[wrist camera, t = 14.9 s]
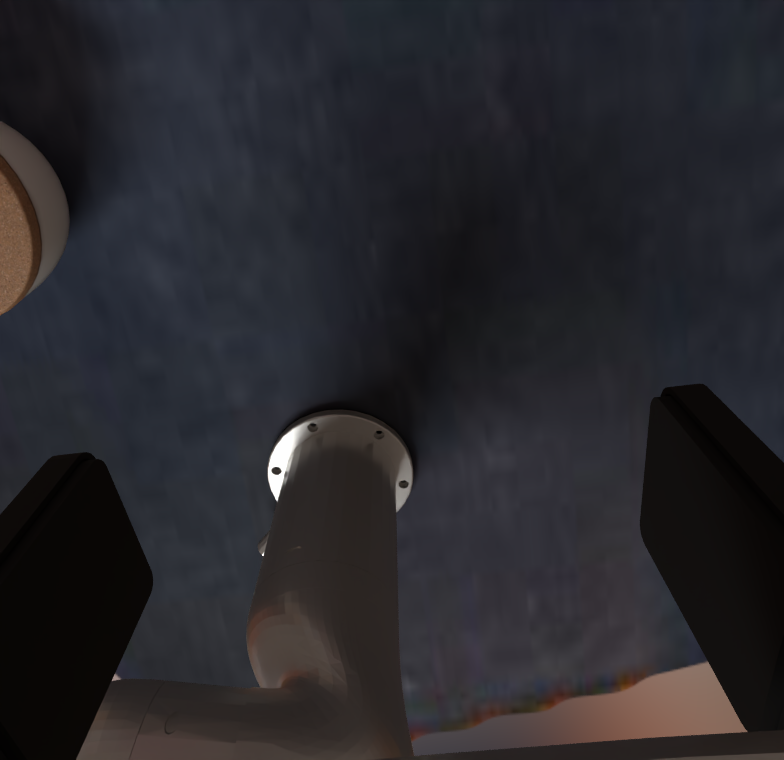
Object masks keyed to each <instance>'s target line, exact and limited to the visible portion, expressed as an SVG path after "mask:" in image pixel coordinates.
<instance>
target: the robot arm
mask: <svg viewBox="0 0 784 760" xmlns="http://www.w3.org/2000/svg"><path fill="white" fill-rule="evenodd" d="M312 423H314V424H312ZM267 473H268V482H269V486H270V489H271V491H272V493H273V495H274V497H275V499H276V500H277V504H276V508H275V512H274V516H273V520H272V524H271V528H270V531H268V533H267V534H266V535H265V536H264V537H263V538H262V539H261V541H260V542H259V543H258V550H259V552H260V553H261V554H262V555H263V560H262V564H261V567H260V571H259V575H258V579H257V583H256V587H255V591H254V595H253V599H252V603H251V607H250V611H249V615H248V620H247V631H246V638H247V649H248V654H249V659H250V663H251V665H252V668H253V671H254V674H255V677H256V679H257V681H258V683H259V685H260V687H261V688H259V687H251V688H240V687H230V686H219V685H209V684H198V683H188V682H177V681H166V680H154V679H121V680H116V681H112V679H113V677H114V674H115V672H116V670H117V668H118V665H119V663H120V661H121V659H122V657H123V654H124V652H125V650H126V648H127V645H128V643H129V641H130V639H131V637H132V634H133V632H134V630H135V628H136V625H137V623H138V621H139V619H140V617H141V614H142V612H143V610H144V608H145V605H146V603H147V601H148V599H149V597H150V594H151V591H152V587H153V575H152V571H151V569H150V566H149V564H148V562H147V559H146V557H145V555H144V552H143V550H142V548H141V545H140V543H139V541H138V538H137V536H136V534H135V531H134V529H133V527H132V524H131V522H130V520H129V517H128V515H127V513H126V510H125V508H124V506H123V503H122V501H121V499H120V496H119V494H118V492H117V489H116V487H115V485H114V482H113V480H112V478H111V475H110V473H109V471H108V468H107V466H106V465H105V463H104V462H103V461H102V460H99V459H96V458H95V457H94V456H93V455H92V454H91V453H87V452H84V453H75V454H66V455H57V456H53V457H51V458H50V459H48V460H47V462H46V463H45V464H44V465H43V466H42V467H41V468H40V470H39V471H38V472H37V473H36V474H35V475H34V476H33V478H32V479H31V480H30V481H29V482H28V483H27V485H26V486H25V487H24V488H23V489H22V490H21V491H20V493H19V494H18V495H17V496H16V497H15V498H14V500H13V501H12V502H11V503H10V504H9V505H8V506H7V508H6V509H5V510H4V511H3V512H2V513H1V515H0V760H784V463H783V462H782V461H781V460H780V459H779V458H778V457H777V456H776V455H775V454H774V453H773V452H772V451H771V450H770V449H769V448H768V447H767V446H766V445H765V444H764V443H763V442H762V441H761V440H760V439H759V438H758V437H757V436H756V435H755V434H754V433H753V432H752V431H751V430H750V429H749V428H748V427H747V426H746V425H745V424H744V423H743V422H742V421H741V420H740V419H739V418H738V417H737V416H736V415H735V414H734V413H733V412H732V411H731V410H730V409H729V408H728V407H727V406H726V405H725V404H724V403H723V402H722V401H721V400H720V399H719V398H718V397H717V396H716V395H715V394H714V393H713V392H712V391H711V390H710V389H709V388H708V387H707V386H705V385H704V384H693V385H684V386H675V387H666V388H665V389H664V390H663V391H662V394H661V397H655V398H653V399H652V402H651V406H650V416H649V427H648V438H647V449H646V460H645V472H644V483H643V494H642V505H641V516H640V530H641V535H642V538H643V542H644V544H645V546H646V548H647V550H648V551H649V553H650V555H651V557H652V559H653V561H654V562H655V564H656V566H657V568H658V570H659V572H660V574H661V575H662V577H663V579H664V581H665V583H666V585H667V586H668V588H669V590H670V592H671V594H672V596H673V598H674V599H675V601H676V603H677V605H678V607H679V609H680V610H681V612H682V614H683V616H684V618H685V620H686V621H687V623H688V625H689V627H690V629H691V631H692V633H693V634H694V636H695V638H696V640H697V642H698V644H699V645H700V647H701V649H702V651H703V653H704V655H705V657H706V658H707V660H708V662H709V664H710V666H711V668H712V669H713V671H714V673H715V675H716V677H717V679H718V681H719V682H720V684H721V686H722V688H723V690H724V692H725V693H726V695H727V697H728V699H729V701H730V702H731V704H732V706H733V708H734V710H735V712H736V714H737V715H738V717H739V719H740V721H741V723H742V724H743V726H744V727H745V729H746V730H747V731H748V732H742V733H725V734H709V735H691V736H675V737H658V738H642V739H629V740H616V741H603V742H591V743H577V744H564V745H550V746H538V747H524V748H511V749H498V750H485V751H472V752H459V753H446V754H434V755H421V756H414V752H413V747H412V742H411V737H410V733H409V727H408V722H407V717H406V711H405V704H404V697H403V690H402V680H401V669H400V650H399V619H398V568H397V521H396V513H397V512H398V511H399V510H400V509H401V507H402V506H403V505H404V504H405V502H406V500H407V498H408V496H409V494H410V492H411V488H412V484H413V464H412V458H411V455H410V452H409V450H408V448H407V446H406V444H405V443H404V441H403V439H402V438H401V437H400V436H399V435H398V434H397V433H396V432H395V431H394V429H392V428H391V427H390V426H388V425H387V424H385V423H384V422H383V421H381V420H379V419H377V418H375V417H373V416H371V415H368V414H364V413H361V412H357V411H351V410H342V409H340V410H325V411H321V412H316V413H312V414H310V415H308V416H305V417H303V418H300V419H299V420H297V421H296V422H294V423H293V424H291V425H290V426H288V427H287V428H286V429H285V430H284V431H283V432H282V433H281V434H280V436H279V437H278V439H277V441H276V442H275V444H274V446H273V448H272V451H271V454H270V457H269V462H268V466H267Z"/></svg>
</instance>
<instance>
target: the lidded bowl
mask: <svg viewBox="0 0 784 760" xmlns="http://www.w3.org/2000/svg"><path fill="white" fill-rule="evenodd" d="M69 224H70V217H69V207H68V203H67V199H66V195H65V192H64V190H63V187H62V185H61V182H60V180H59V178H58V176H57V175H56V173H55V171H54V169H53V167H52V166H51V165H50V163H49V162H48V161H47V159H46V158H45V157H44V155H43V154H42V153H41V152H40V151H39V150H38V149H37V148H36V147H35V146H34V145H33V144H32V143H31V142H30V141H29V140H28V139H27V138H25V137H24V136H23V135H22V134H20V133H19V132H18V131H16V130H15V129H13V128H11V127H10V126H8V125H7V124H5V123H3V122H2V121H0V315H2V314H3V313H5V312H7V311H9V310H10V309H12V308H13V307H14V306H15V305H16V304H17V303H18V302H20V301H21V300H22V299H23V298H24V297H26V296H27V295H28V294H30V293H31V292H32V291H33V290H35V289H36V288H37V287H38V286H39V285H40V284H41V283H42V282H43V281H44V280H45V279H46V278H47V277H48V276H49V275H50V273H51V272H52V271H53V269H54V268H55V267H56V265H57V264H58V262H59V260H60V258H61V256H62V254H63V252H64V250H65V247H66V243H67V239H68V234H69Z"/></svg>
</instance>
